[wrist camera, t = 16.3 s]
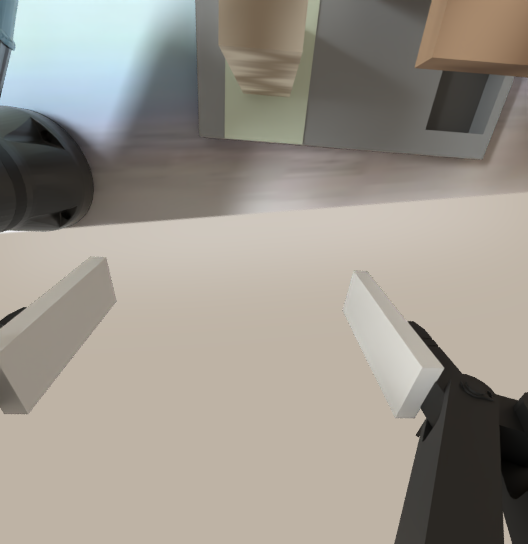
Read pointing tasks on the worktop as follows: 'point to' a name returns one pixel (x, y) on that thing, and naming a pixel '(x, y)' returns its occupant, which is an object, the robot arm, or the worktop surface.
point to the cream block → (263, 43)
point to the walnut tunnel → (476, 37)
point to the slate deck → (353, 87)
